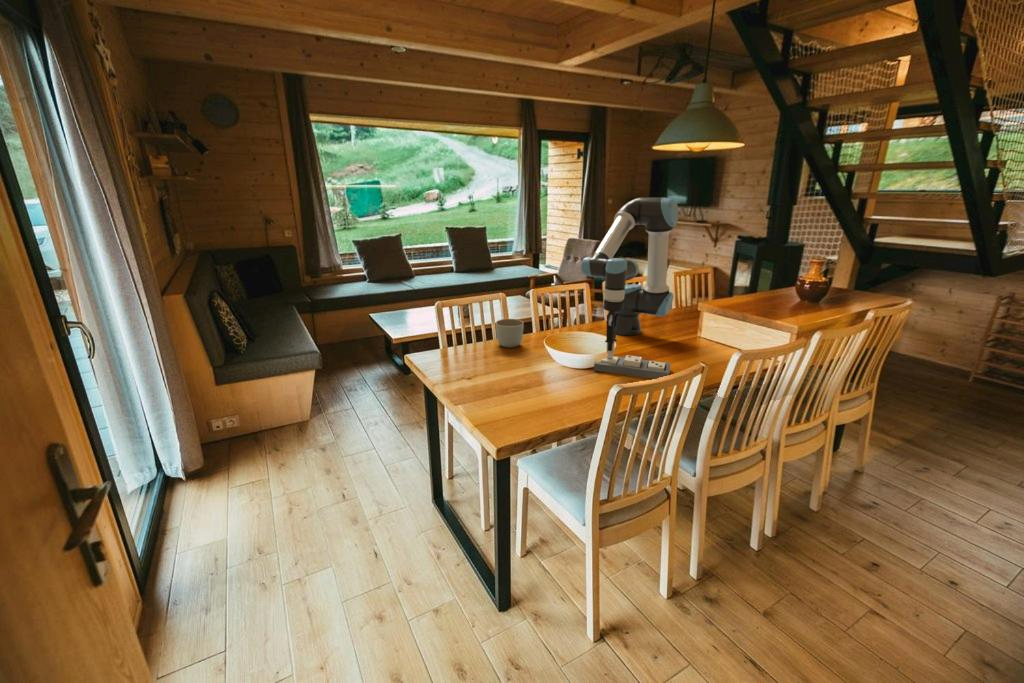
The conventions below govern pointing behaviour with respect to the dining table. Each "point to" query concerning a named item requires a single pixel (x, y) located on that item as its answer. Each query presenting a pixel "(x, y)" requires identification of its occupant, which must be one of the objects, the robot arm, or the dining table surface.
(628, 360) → the tile two pips
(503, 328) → the planter
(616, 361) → the tile one pip
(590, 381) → the dining table surface
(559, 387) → the dining table surface
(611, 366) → the board
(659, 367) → the tile three pips
